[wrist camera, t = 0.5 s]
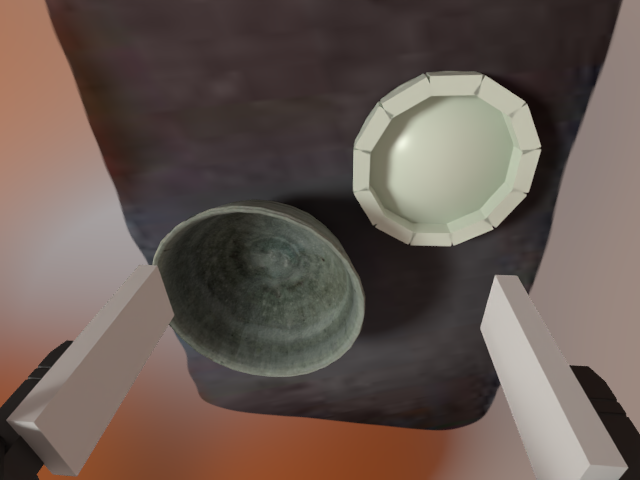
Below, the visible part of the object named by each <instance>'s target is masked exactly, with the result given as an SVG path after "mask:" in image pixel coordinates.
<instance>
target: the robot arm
mask: <svg viewBox="0 0 640 480" xmlns="http://www.w3.org/2000/svg"><path fill="white" fill-rule="evenodd" d="M173 317H174V313H173V310H172V307H171V304H170V301H169V298H168V295H167V292H166V289H165V286H164V283H163V281H162V278H161V275H160V272H159V269H158V266H157V265H139V266H138V267H137V268H136V269H135V271H134V272H133V273H132V274H131V276H129V278H128V279H127V280H126V281H125V282H124V283H123V285H122V286H121V287H120V288H119V289H118V290H117V292H116V293H115V294H114V295H113V296H112V298H111V299H110V300H109V301H108V302H107V303H106V304H105V306H104V307H103V308H102V309H101V310H100V311H99V313H98V314H97V315H96V316H95V317H94V318H93V320H92V321H91V322H90V323H89V324H88V325H87V327H86V328H85V329H84V330H83V331H82V332H81V334H80V335H79V336H78V337H77V338H76V339H75V341H65V342H64V343H63V344H61V345H60V346H58V347H57V348H56V349H54V350H53V351H51V352H50V353H49V354H48V356H47V357H46V358H45V359H44V360H43V361H42V362H41V363H40V364H39V366H38V368H37V369H35V370H34V371H33V372H32V373H31V375H29V377H28V380H25V381H24V382H23V383H22V384H21V386H20V387H19V388H18V389H17V390H16V391H15V392H14V393H13V394H12V395H11V397H10V398H9V399H8V400H7V401H6V402H5V403H4V404H3V405H2V407H1V408H0V480H39V478H38V476H37V473H38V472H39V470H40V469H41V467H42V466H43V465H45V466H46V467H47V468H48V469H49V470H50V472H51V473H52V474H55V475H56V474H57V475H67V476H77V475H78V474H79V472H80V470H81V469H82V467H83V465H84V464H85V462H86V461H87V459H88V457H89V456H90V454H91V452H92V451H93V449H94V447H95V446H96V444H97V442H98V441H99V439H100V437H101V436H102V434H103V432H104V431H105V429H106V427H107V426H108V424H109V423H110V421H111V419H112V417H113V416H114V414H115V413H116V411H117V409H118V408H119V406H120V404H121V403H122V401H123V399H124V398H125V396H126V394H127V393H128V391H129V389H130V387H131V386H132V384H133V383H134V381H135V379H136V378H137V376H138V374H139V373H140V371H141V370H142V368H143V366H144V365H145V363H146V361H147V360H148V358H149V356H150V355H151V353H152V351H153V350H154V348H155V346H156V345H157V343H158V342H159V340H160V338H161V337H162V335H163V333H164V332H165V330H166V328H167V327H168V325H169V323H170V322H171V320H172V318H173ZM480 329H481V332H482V334H483V337H484V340H485V343H486V345H487V348H488V351H489V353H490V356H491V359H492V361H493V364H494V367H495V369H496V372H497V375H498V378H499V380H500V383H501V386H502V388H503V391H504V394H505V396H506V399H507V402H508V404H509V407H510V410H511V412H512V415H513V418H514V421H515V423H516V426H517V429H518V431H519V434H520V437H521V439H522V442H523V445H524V448H525V450H526V453H527V456H528V458H529V461H530V464H531V466H532V469H533V472H534V474H535V477H536V480H640V434H639V432H638V431H637V429H636V428H635V426H634V425H633V423H632V422H631V420H630V419H629V417H626V413H625V411H624V410H623V408H622V406H621V405H620V404H619V403H618V402H617V399H616V397H615V396H614V394H613V393H612V391H611V390H610V388H609V387H608V385H607V384H606V382H605V381H604V380H603V379H602V378H601V377H599V376H598V375H597V374H596V373H595V372H594V371H593V370H592V369H591V368H589V367H588V366H571V365H568V363H567V361H566V359H565V358H564V356H563V354H562V352H561V351H560V349H559V347H558V346H557V344H556V342H555V341H554V339H553V337H552V335H551V334H550V332H549V330H548V328H547V327H546V325H545V323H544V321H543V320H542V318H541V316H540V315H539V313H538V311H537V309H536V308H535V306H534V304H533V303H532V301H531V299H530V297H529V296H528V294H527V292H526V290H525V289H524V287H523V285H522V284H521V282H520V280H519V278H518V277H517V276H510V275H495V277H494V281H493V285H492V288H491V292H490V295H489V299H488V302H487V306H486V309H485V313H484V317H483V320H482V324H481V327H480Z"/></svg>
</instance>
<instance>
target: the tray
mask: <svg viewBox="0 0 640 480" xmlns="http://www.w3.org/2000/svg"><path fill="white" fill-rule="evenodd" d="M539 147H541V144H540V141H539V138H538V135H537V132H536V129H535V126H534V123H533V119H532V116H531V113H530V110H529V107H528V104H526V103H525V101H524V100H522V99H521V98H519V97H518V96H516V95H515V94H513V93H511V92H510V91H508V90H507V89H505V88H504V87H502V86H501V85H499V84H498V83H496V82H495V81H493V80H492V79H490V78H489V77H487V76H486V75H483V74H481V73H478V72H476V71H474V72H463V71H450V70H448V71H437V72H430V73H427V74H422V75H420V76H418V77H415V78H413V79H410V80H409V81H407V82H405V83H403V84H401V85H399V86H398V87H396V88H395V89H393V90H392V91H391V92H389V93H388V94H387V95H386V96H385V97H383V98H382V99H380V101H379V102H378V103H377V104H376V106H375V107H374V108H373V109H372V111H371V112H370V114H369V115H368V117H367V118H366V120H365V122H364V124H363V126H362V128H361V130H360V132H359V134H358V136H357V138H356V139H355V143H354V157H353V191H354V195H355V197H356V198H357V200H358V202H359V203H360V205H361V207H362V208H363V210H364V211H365V213H366V215H367V216H368V218H369V220H370V221H371V223H372V225H375V227H376V228H377V229H379V230H381V231H383V232H385V233H387V234H389V235H391V236H393V237H394V238H396V239H398V240H400V241H402V242H404V243H406V244H409V243H410V244H411V245H418V246H451V243H453V245H457V244H459V243H462V242H464V241H466V240H469V239H471V238H474V237H476V236H479V235H481V234H483V233H486V232H488V231H491V230H493V227H492V226H494V227H497V226H498V225H499V224H500V223H501V222H502V221H503V220H504V219H505V218H506V217H507V216H508V215H509V214H510V213H511V212H512V211H513V209H514V208H515V207H516V206H517V205H518V204H519V203H520V202H521V201H522V200H523V199H524V198H525V197H526V196H527V195H526V194H525V193H529V190H530V187H531V183H532V180H533V176H534V173H535V169H536V166H537V163H538V159H539V156H540V152H541V149H540V148H539Z"/></svg>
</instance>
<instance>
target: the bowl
mask: <svg viewBox="0 0 640 480" xmlns="http://www.w3.org/2000/svg"><path fill="white" fill-rule="evenodd" d="M153 265H157V266H158V269H159V272H160V275H161V278H162V281H163V283H164V286H165V289H166V292H167V295H168V298H169V301H170V304H171V307H172V310H173V313H174V317H173V318H172V320H171V322H170V323H169V325H170V326H171V327H172V329H173V330H174V331H175V332H176V333H177V334H178V335H179V336H180V337H181V338H182V339H183V340H184V341H185V342H186V343H188V344H189V345H190V346H191V347H192V348H193V349H195V350H196V351H197V352H199V353H200V354H202V355H204V356H205V357H207V358H209V359H211V360H212V361H214V362H216V363H219V364H221V365H223V366H226V367H228V368H230V369H233V370H237V371H241V372H244V373H248V374H253V375H261V376H269V377H288V376H296V375H302V374H308V373H311V372H313V371H316V370H319V369H321V368H324V367H326V366H327V365H329V364H331V363H332V362H334V361H336V360H337V359H339V358H340V357H341V356H342V355H343V354H344V353H345V352H346V351H347V350H348V349H350V348H351V346H352V345H353V344H354V342H355V340H356V339H357V337H358V335H359V334H360V332H361V329H362V325H363V321H364V316H365V293H364V290H363V286H362V283H361V280H360V277H359V275H358V273H357V272H356V270H355V268H354V267H353V265H352V263H351V260H350V258H349V257H348V255H347V253H346V252H345V250H344V249H343V247H342V245H341V243H340V242H339V240H338V239H337V238H336V237H335V236H334V235H333V234H332V232H331V231H330V230H329V229H328V228H327V227H326V226H325V225H323V224H322V223H321V222H320V221H318V220H317V219H316V218H314V217H313V216H312V215H310V214H309V213H307V212H304V211H302V210H300V209H298V208H296V207H293V206H290V205H287V204H283V203H279V202H275V201H265V200H246V201H238V202H233V203H229V204H225V205H222V206H219V207H216V208H214V209H209V210H207V211H204V212H202V213H199V214H197V215H194V216H192V217H190V218H188V219H187V220H185V221H184V222H182V223H180V224H179V225H177V226H176V227H174V228H173V229H172V230H171V231H170V232H169V233H168V234H167V235H166V237H165V238H164V239H163V240H162V241H161V242H160V245H159V247H158V249H157V251H156V253H155V256H154V259H153Z"/></svg>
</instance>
